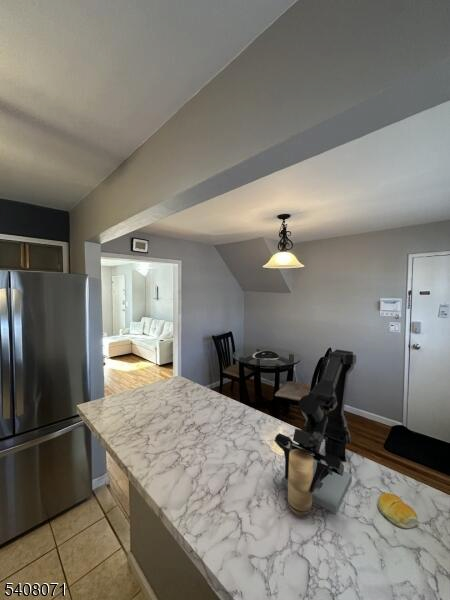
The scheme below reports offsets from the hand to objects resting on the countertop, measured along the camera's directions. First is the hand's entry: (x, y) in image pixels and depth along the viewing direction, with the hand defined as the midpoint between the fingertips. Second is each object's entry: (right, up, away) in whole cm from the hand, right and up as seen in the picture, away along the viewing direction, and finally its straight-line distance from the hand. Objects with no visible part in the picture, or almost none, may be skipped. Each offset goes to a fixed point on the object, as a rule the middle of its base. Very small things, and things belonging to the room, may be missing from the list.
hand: (297, 485), depth 67 cm
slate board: (+9, -8, +11) cm, 17 cm away
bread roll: (+27, -9, +1) cm, 28 cm away
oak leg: (+1, -8, +1) cm, 8 cm away
